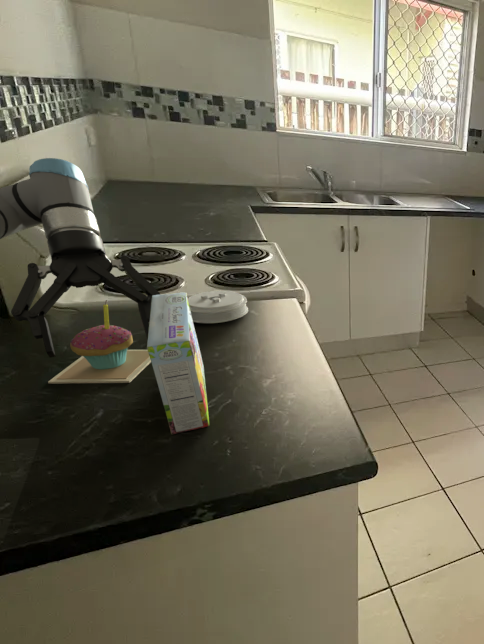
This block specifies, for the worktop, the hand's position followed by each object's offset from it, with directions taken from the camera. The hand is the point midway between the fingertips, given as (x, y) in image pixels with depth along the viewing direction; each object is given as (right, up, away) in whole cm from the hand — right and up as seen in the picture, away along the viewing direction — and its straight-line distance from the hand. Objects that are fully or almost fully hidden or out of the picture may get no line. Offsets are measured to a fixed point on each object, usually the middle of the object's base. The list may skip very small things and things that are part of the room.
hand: (102, 345), depth 82 cm
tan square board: (-2, -4, +4) cm, 6 cm away
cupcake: (-2, -4, +4) cm, 5 cm away
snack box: (+17, -9, -2) cm, 19 cm away
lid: (+3, +6, +27) cm, 28 cm away
